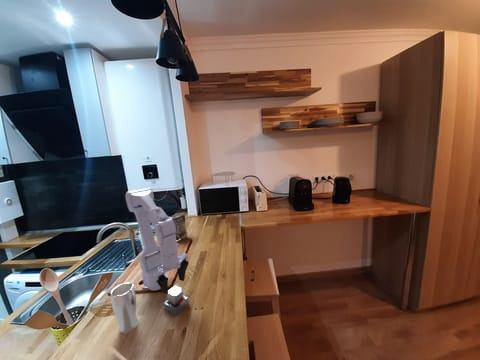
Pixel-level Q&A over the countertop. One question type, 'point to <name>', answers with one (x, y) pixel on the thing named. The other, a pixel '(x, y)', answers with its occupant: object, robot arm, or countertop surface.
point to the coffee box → (180, 226)
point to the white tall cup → (124, 306)
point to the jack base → (177, 309)
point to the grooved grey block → (175, 296)
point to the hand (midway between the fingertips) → (174, 286)
